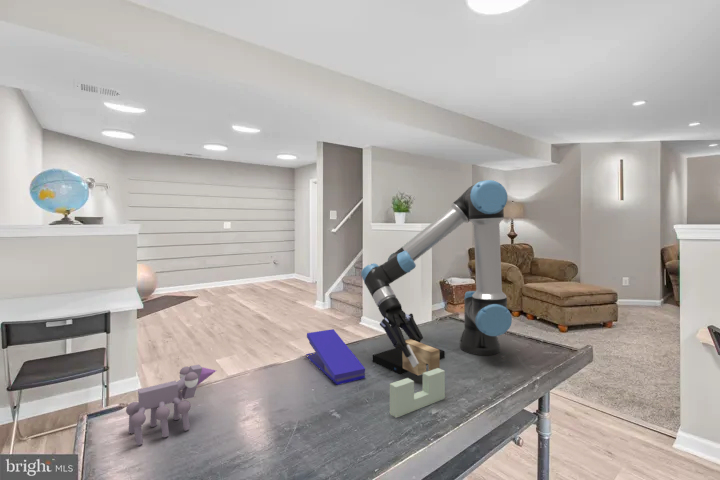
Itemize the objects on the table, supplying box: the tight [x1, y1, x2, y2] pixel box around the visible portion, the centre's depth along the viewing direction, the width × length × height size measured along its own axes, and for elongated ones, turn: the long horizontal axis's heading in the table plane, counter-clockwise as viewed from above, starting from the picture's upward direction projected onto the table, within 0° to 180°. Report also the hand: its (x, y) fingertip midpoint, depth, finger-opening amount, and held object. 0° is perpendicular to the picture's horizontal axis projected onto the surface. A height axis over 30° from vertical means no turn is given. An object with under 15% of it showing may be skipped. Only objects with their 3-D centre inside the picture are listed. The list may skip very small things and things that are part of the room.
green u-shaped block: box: [389, 368, 446, 418], centre depth 96 cm, size 18×2×8 cm, turn 124°
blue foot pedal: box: [305, 329, 366, 386], centre depth 123 cm, size 12×28×10 cm, turn 29°
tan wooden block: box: [402, 338, 441, 376], centre depth 111 cm, size 13×4×9 cm, turn 34°
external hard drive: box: [372, 346, 446, 376], centre depth 129 cm, size 14×23×3 cm, turn 129°
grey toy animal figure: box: [125, 364, 217, 446], centre depth 87 cm, size 20×11×14 cm, turn 127°
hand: (421, 363), depth 111 cm, fingers closed on tan wooden block, 3 cm apart
